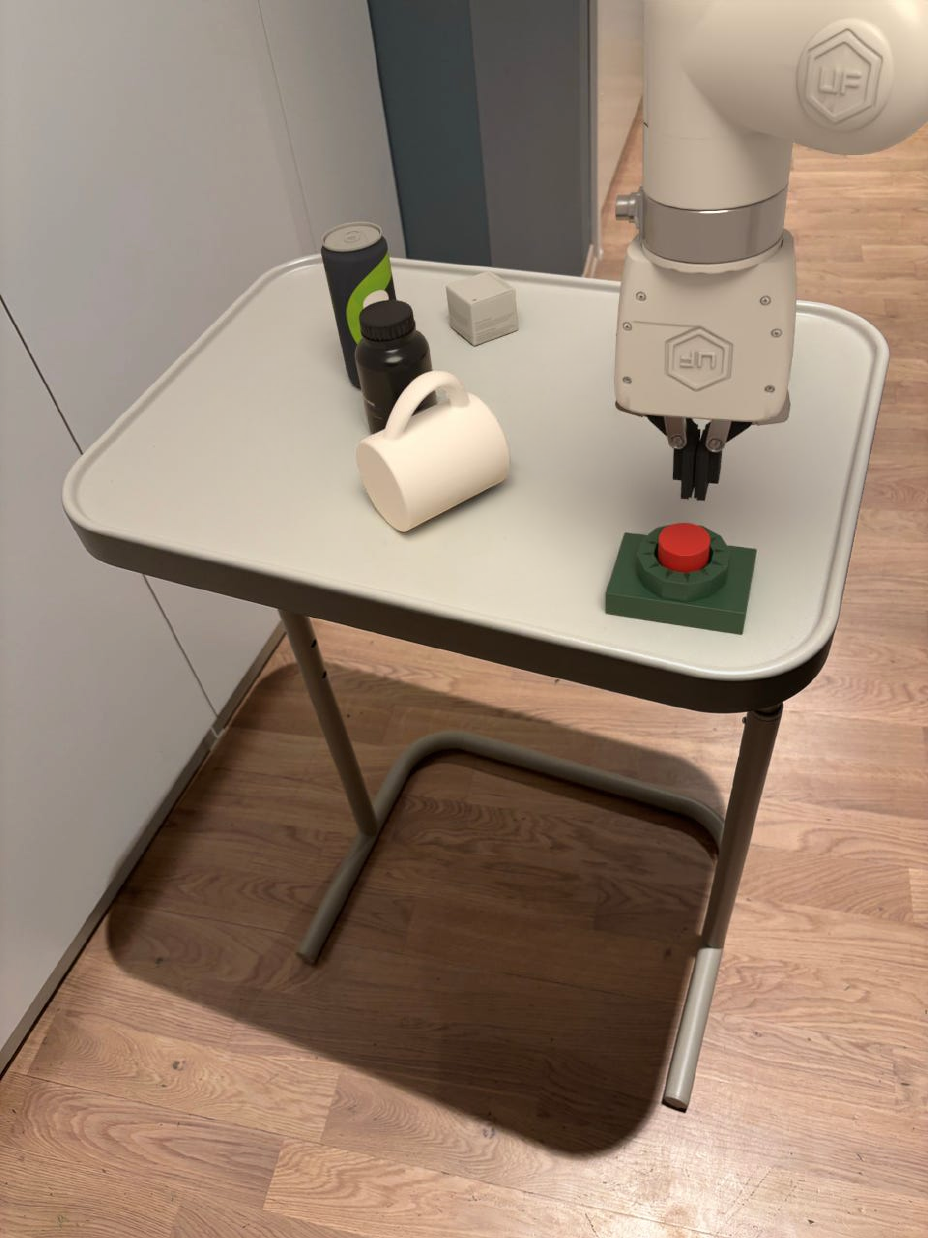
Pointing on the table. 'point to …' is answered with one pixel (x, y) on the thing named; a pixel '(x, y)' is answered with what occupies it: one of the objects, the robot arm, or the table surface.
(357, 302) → the beverage can
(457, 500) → the mug
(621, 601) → the button box
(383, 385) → the supplement bottle
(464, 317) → the small box
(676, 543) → the button
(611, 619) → the table surface
